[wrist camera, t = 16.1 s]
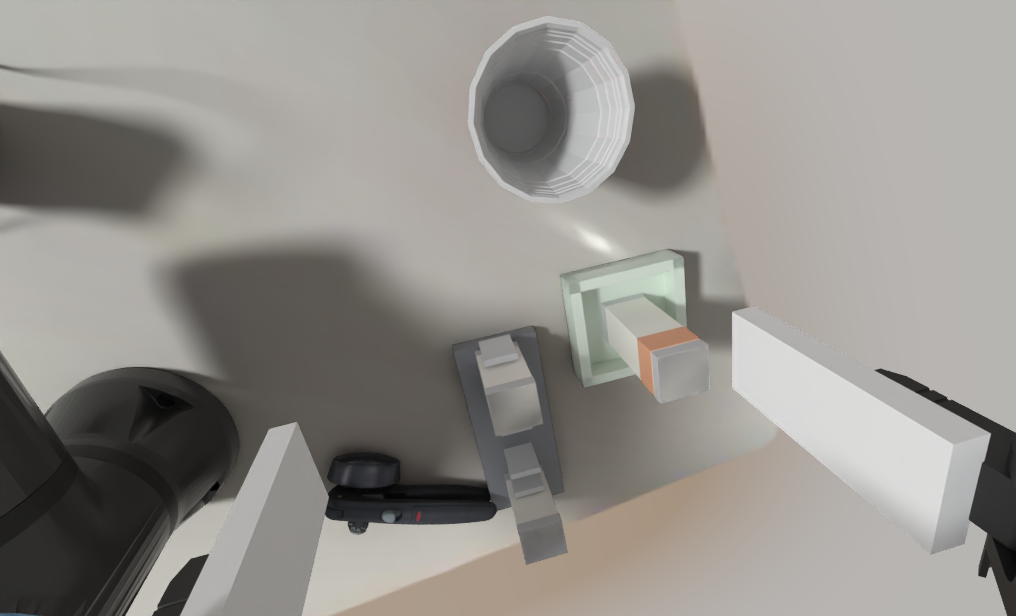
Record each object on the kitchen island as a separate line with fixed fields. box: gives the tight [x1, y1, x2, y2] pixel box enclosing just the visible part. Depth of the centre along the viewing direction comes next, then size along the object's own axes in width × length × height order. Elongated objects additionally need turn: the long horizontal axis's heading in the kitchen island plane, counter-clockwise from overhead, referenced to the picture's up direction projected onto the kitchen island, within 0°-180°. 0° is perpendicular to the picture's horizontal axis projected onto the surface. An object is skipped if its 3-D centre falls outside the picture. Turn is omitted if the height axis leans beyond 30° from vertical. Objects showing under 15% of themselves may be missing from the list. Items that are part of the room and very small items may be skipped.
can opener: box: [325, 453, 497, 535], centre depth 50 cm, size 18×7×6 cm, turn 71°
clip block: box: [452, 326, 564, 511], centre depth 49 cm, size 8×21×6 cm, turn 11°
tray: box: [560, 249, 687, 388], centre depth 48 cm, size 11×11×3 cm
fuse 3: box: [601, 293, 710, 404], centre depth 43 cm, size 4×4×12 cm
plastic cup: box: [468, 16, 635, 204], centre depth 35 cm, size 11×11×12 cm
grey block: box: [504, 464, 568, 565], centre depth 49 cm, size 4×4×8 cm
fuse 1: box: [475, 341, 543, 436], centre depth 43 cm, size 4×4×8 cm
